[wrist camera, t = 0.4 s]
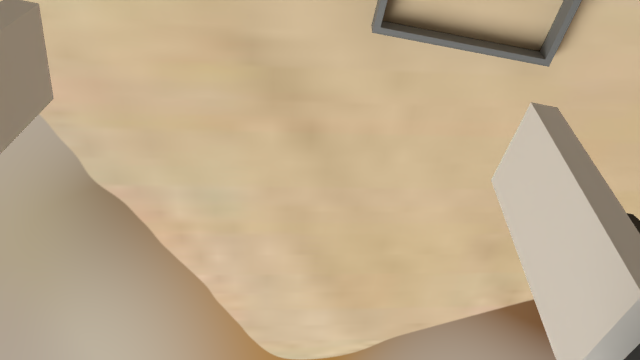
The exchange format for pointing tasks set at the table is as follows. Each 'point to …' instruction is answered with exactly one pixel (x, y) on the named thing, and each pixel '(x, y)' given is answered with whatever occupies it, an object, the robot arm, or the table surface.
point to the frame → (480, 46)
